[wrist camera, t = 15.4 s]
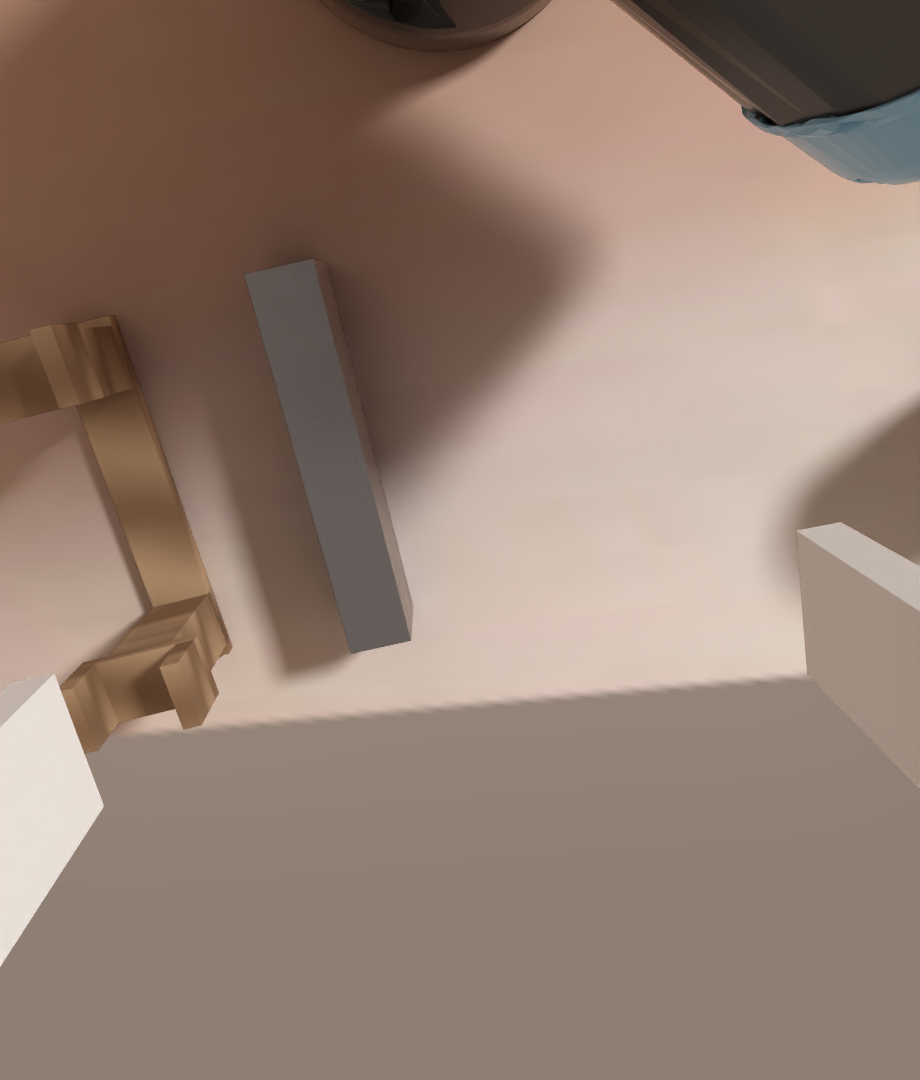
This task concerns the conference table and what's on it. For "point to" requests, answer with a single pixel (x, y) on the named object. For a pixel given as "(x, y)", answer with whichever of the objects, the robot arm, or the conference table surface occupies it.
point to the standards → (125, 529)
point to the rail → (333, 450)
